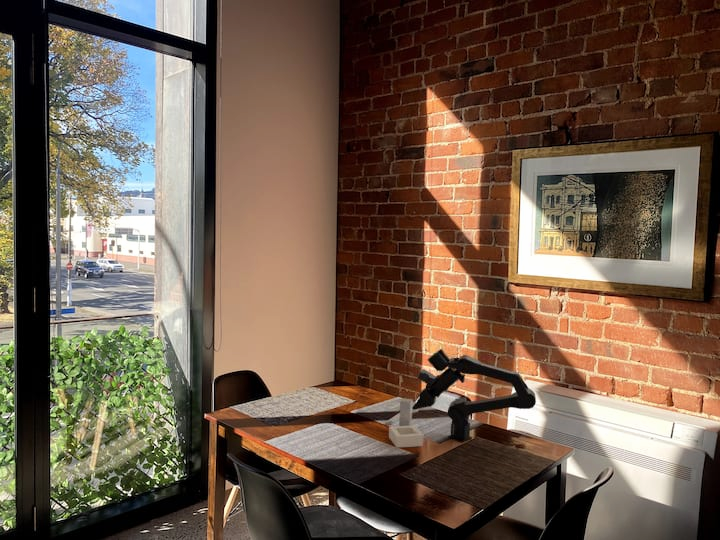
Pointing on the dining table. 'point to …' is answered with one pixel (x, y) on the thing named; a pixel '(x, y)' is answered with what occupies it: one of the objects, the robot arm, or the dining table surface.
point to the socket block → (406, 436)
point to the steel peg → (406, 412)
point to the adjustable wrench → (397, 418)
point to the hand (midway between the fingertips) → (415, 405)
